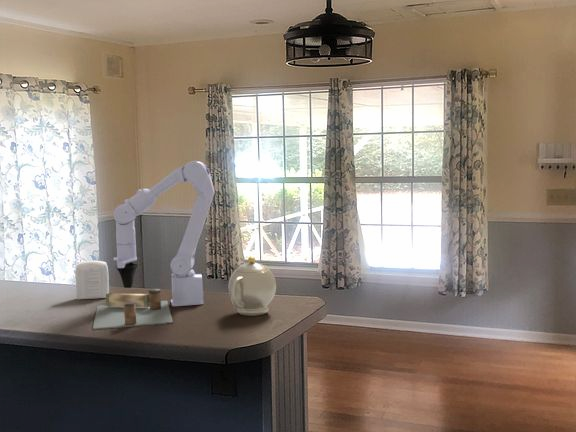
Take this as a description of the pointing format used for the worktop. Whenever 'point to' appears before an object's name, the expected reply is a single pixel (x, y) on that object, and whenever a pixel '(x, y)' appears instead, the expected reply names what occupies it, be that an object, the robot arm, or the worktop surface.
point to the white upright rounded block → (92, 280)
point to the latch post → (130, 313)
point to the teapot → (252, 288)
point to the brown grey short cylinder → (155, 299)
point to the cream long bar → (127, 299)
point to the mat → (144, 316)
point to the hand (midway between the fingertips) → (128, 287)
